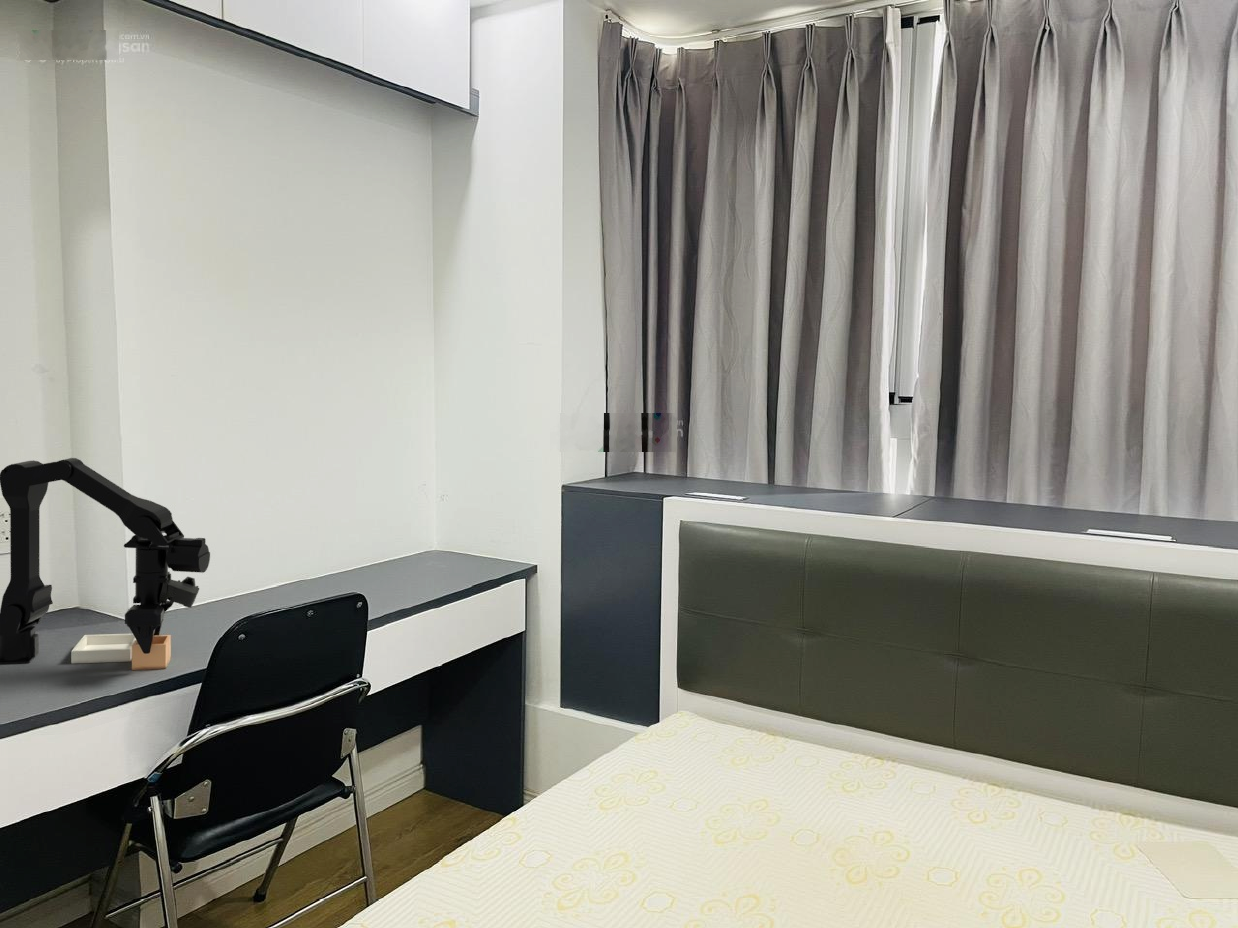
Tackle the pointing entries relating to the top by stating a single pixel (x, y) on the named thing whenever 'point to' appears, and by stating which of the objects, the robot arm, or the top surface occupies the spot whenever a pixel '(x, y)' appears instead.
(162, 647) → the small crate
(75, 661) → the cream square tray
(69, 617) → the top surface
